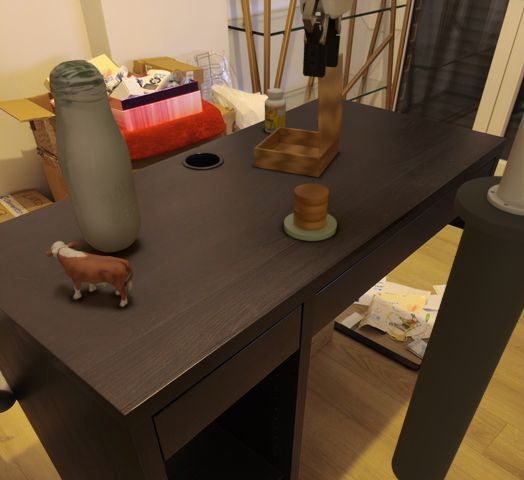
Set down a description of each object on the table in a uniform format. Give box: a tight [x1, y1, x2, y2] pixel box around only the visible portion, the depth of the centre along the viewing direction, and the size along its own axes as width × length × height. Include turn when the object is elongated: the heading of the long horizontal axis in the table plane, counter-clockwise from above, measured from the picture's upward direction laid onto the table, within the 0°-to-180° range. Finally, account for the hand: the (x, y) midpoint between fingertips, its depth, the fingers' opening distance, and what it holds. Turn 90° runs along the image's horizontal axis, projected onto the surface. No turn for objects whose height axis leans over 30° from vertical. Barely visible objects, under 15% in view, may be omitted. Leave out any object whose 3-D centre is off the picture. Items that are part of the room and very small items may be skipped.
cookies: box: [292, 183, 330, 230], centre depth 84 cm, size 6×6×6 cm
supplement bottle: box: [264, 87, 287, 134], centre depth 121 cm, size 5×5×10 cm
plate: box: [283, 212, 338, 242], centre depth 87 cm, size 10×10×1 cm
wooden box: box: [253, 126, 341, 178], centre depth 109 cm, size 15×15×4 cm
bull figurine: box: [45, 240, 134, 308], centre depth 70 cm, size 4×13×8 cm, turn 71°
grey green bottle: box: [48, 59, 142, 253], centre depth 73 cm, size 10×10×28 cm
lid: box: [317, 52, 344, 157], centre depth 100 cm, size 16×15×1 cm
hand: (320, 69), depth 70 cm, fingers open, 5 cm apart
